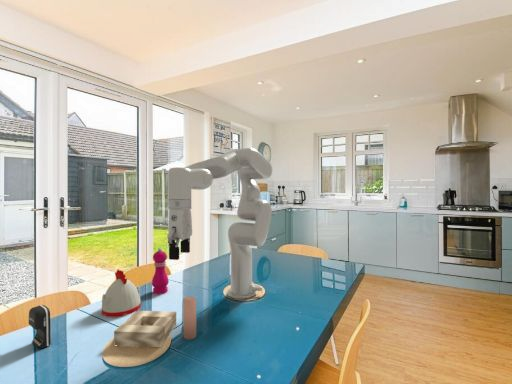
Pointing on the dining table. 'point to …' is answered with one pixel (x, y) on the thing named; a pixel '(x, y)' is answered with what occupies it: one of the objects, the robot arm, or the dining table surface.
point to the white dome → (120, 297)
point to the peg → (189, 317)
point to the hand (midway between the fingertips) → (179, 255)
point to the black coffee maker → (40, 325)
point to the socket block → (145, 329)
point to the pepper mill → (160, 273)
